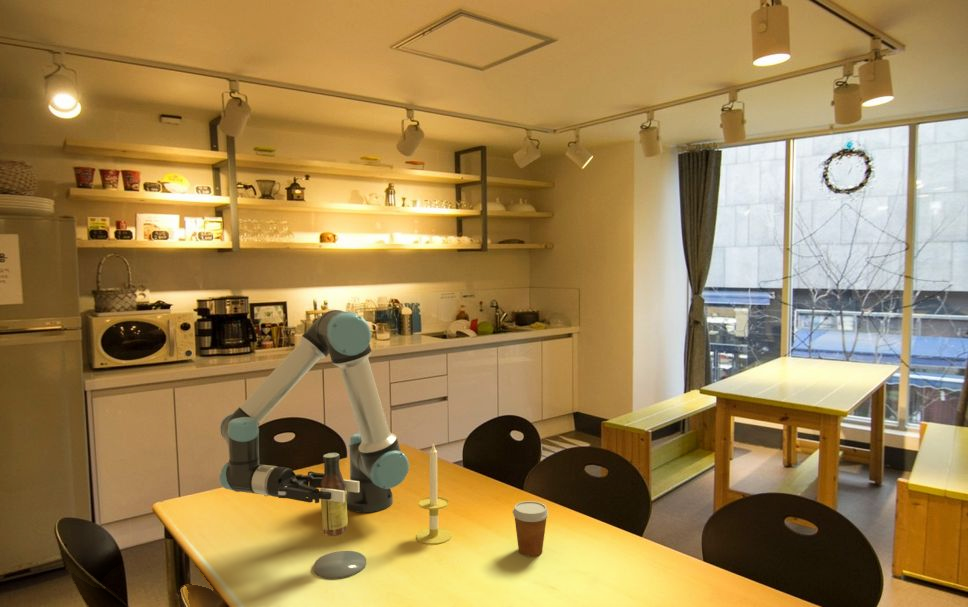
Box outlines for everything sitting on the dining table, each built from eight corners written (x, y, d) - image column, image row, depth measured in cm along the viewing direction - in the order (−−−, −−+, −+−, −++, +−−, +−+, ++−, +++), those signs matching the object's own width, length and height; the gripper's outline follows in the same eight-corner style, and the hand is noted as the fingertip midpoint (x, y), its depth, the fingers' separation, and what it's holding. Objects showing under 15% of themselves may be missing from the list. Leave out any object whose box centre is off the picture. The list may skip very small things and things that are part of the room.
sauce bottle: (352, 528, 155) (351, 452, 154) (338, 539, 149) (337, 460, 148) (330, 525, 157) (329, 450, 156) (316, 535, 151) (314, 457, 150)
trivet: (353, 549, 163) (353, 546, 163) (374, 568, 152) (374, 565, 152) (306, 563, 155) (305, 560, 155) (325, 584, 145) (325, 581, 145)
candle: (458, 533, 172) (457, 440, 171) (439, 547, 164) (438, 449, 162) (428, 526, 177) (428, 435, 176) (409, 539, 168) (408, 444, 167)
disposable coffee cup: (524, 562, 155) (524, 517, 154) (506, 547, 164) (506, 504, 163) (555, 554, 159) (555, 510, 159) (535, 540, 168) (536, 498, 167)
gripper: (297, 483, 168) (371, 492, 160) (249, 509, 150) (330, 521, 142) (297, 456, 167) (370, 465, 160) (249, 479, 149) (329, 490, 142)
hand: (351, 491), depth 151 cm, fingers closed on sauce bottle, 6 cm apart
